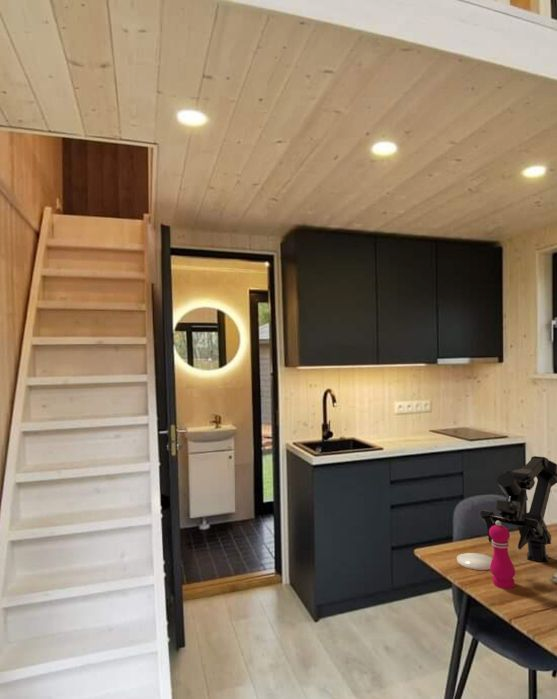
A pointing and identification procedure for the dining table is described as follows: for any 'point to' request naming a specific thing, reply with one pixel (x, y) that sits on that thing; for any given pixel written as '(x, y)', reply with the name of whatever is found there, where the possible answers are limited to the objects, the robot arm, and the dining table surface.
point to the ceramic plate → (474, 561)
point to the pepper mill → (501, 557)
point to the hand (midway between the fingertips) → (504, 545)
